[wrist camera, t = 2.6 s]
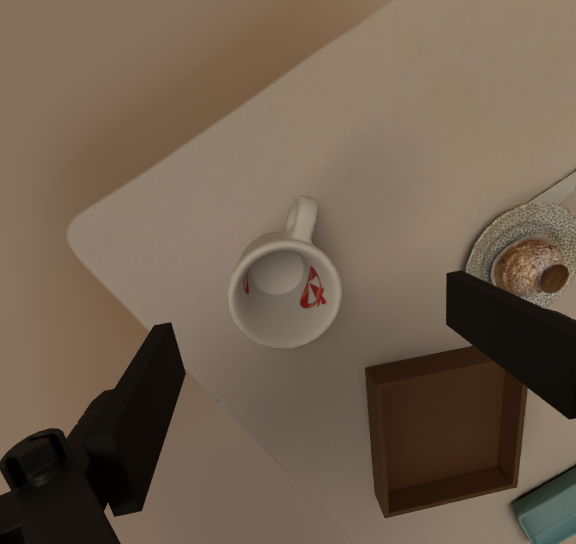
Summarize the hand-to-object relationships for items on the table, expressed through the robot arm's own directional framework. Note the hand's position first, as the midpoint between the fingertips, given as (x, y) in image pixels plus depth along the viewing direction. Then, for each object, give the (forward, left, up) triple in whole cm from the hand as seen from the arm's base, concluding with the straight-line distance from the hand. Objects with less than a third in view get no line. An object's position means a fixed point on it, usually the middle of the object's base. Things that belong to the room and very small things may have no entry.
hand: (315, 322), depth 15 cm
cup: (0, 0, -15) cm, 15 cm away
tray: (+15, -23, -15) cm, 31 cm away
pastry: (+23, -5, -15) cm, 28 cm away
